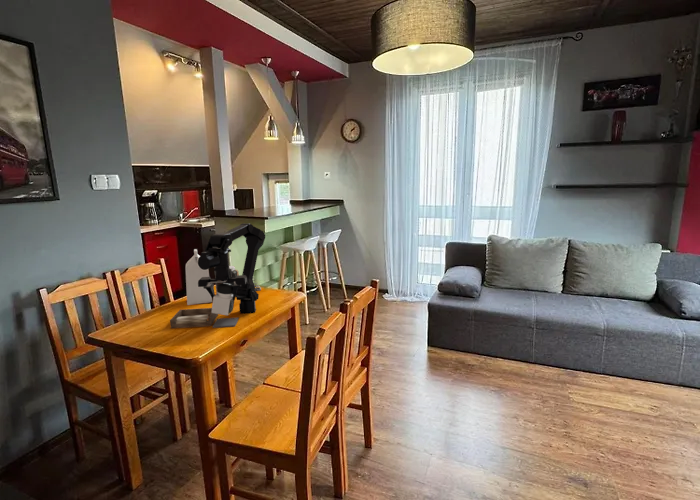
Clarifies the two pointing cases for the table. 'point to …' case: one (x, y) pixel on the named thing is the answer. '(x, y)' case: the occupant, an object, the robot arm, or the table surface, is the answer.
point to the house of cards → (257, 287)
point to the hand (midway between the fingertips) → (224, 300)
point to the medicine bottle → (223, 300)
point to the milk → (196, 282)
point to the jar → (234, 274)
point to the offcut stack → (192, 319)
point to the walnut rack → (192, 313)
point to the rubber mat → (225, 322)
